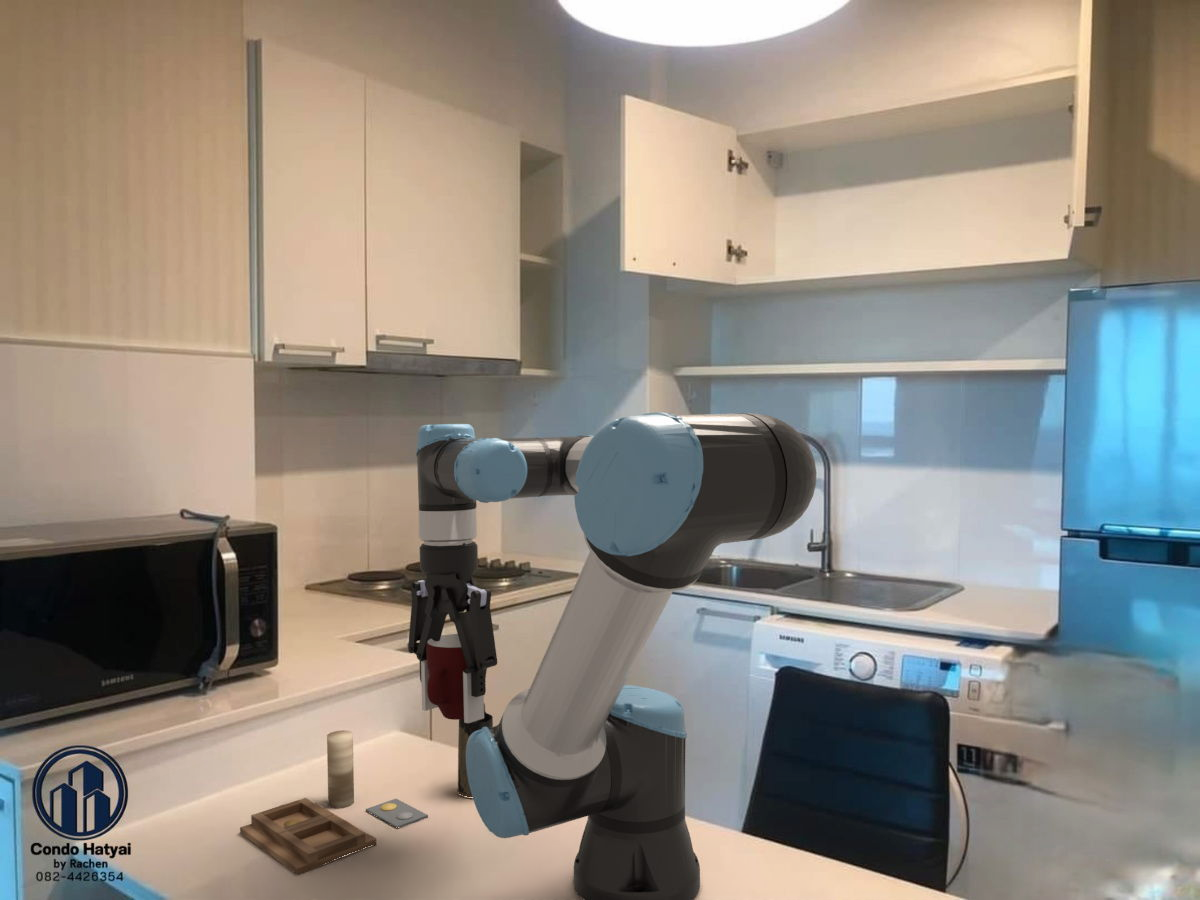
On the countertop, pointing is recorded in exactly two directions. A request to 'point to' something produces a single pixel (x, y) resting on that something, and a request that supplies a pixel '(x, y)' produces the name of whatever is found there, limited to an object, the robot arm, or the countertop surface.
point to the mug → (446, 675)
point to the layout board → (304, 835)
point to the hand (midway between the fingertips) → (452, 713)
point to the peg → (340, 769)
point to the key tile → (397, 813)
